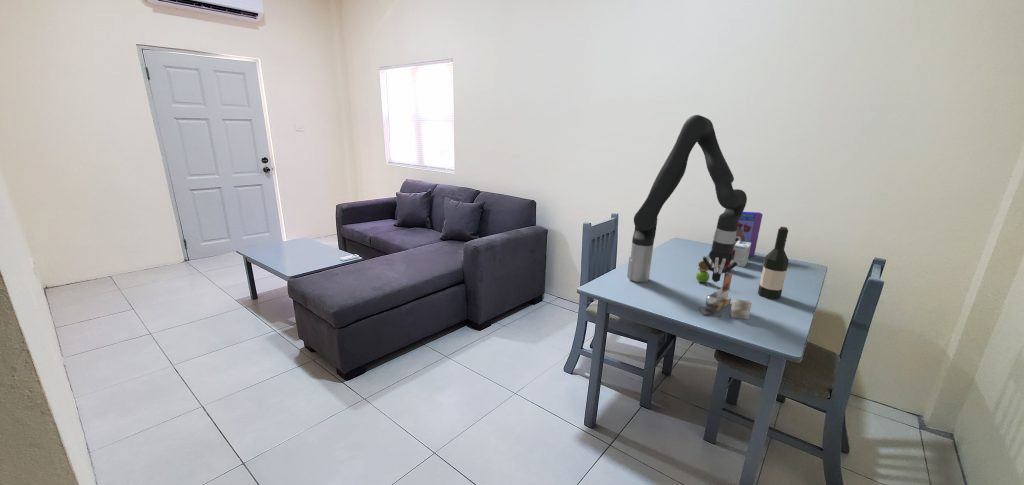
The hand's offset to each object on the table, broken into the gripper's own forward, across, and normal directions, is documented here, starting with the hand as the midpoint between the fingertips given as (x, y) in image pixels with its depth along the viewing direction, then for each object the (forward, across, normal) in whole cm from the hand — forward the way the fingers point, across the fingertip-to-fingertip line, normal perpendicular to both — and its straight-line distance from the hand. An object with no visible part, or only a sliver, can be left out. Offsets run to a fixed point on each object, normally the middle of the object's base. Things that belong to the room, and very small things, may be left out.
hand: (715, 281), depth 165 cm
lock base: (+9, +2, -7) cm, 11 cm away
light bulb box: (+9, +15, +59) cm, 61 cm away
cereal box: (+9, +14, +75) cm, 77 cm away
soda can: (+9, +7, +44) cm, 46 cm away
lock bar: (+5, +1, -7) cm, 8 cm away
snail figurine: (+9, -3, +21) cm, 23 cm away
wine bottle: (+8, +23, +17) cm, 30 cm away
